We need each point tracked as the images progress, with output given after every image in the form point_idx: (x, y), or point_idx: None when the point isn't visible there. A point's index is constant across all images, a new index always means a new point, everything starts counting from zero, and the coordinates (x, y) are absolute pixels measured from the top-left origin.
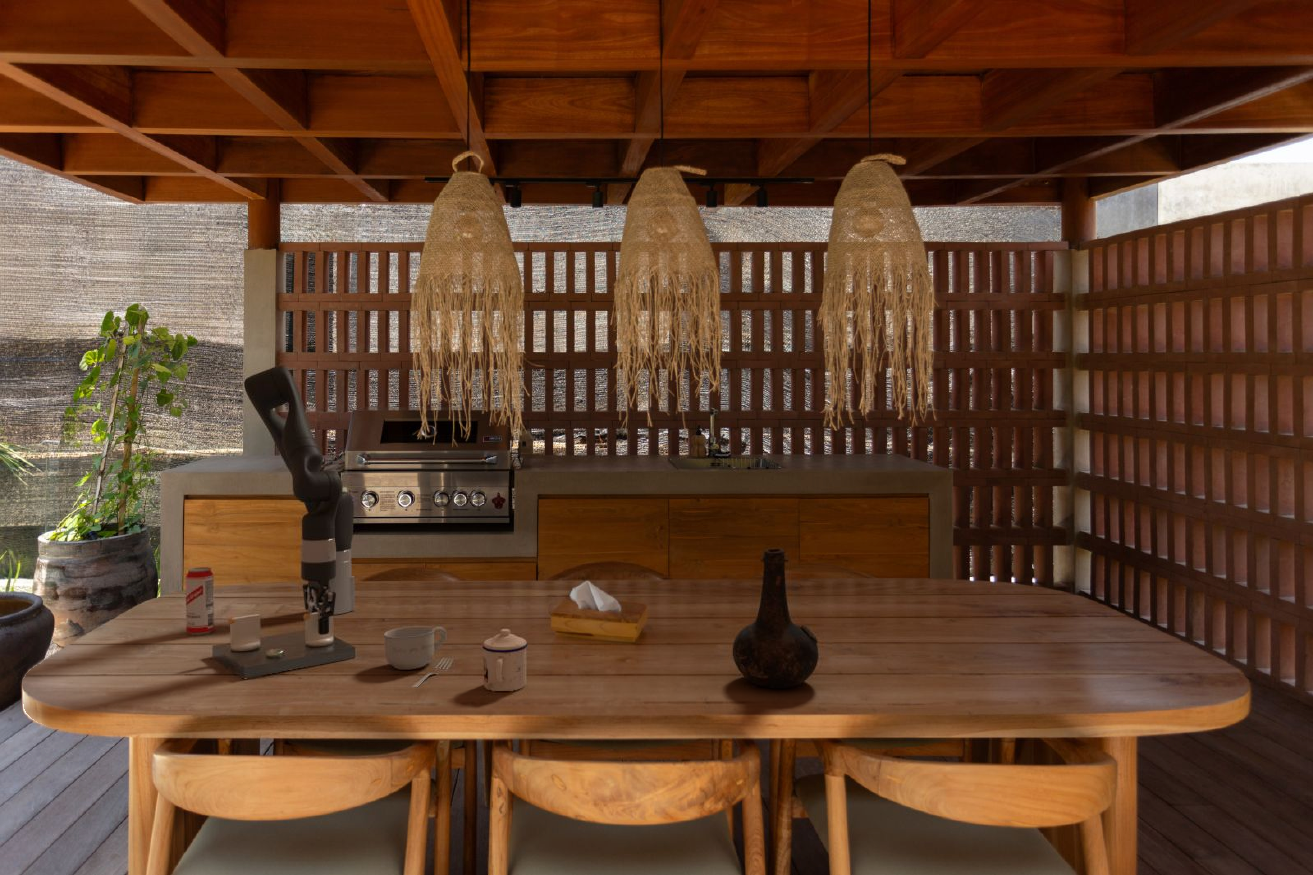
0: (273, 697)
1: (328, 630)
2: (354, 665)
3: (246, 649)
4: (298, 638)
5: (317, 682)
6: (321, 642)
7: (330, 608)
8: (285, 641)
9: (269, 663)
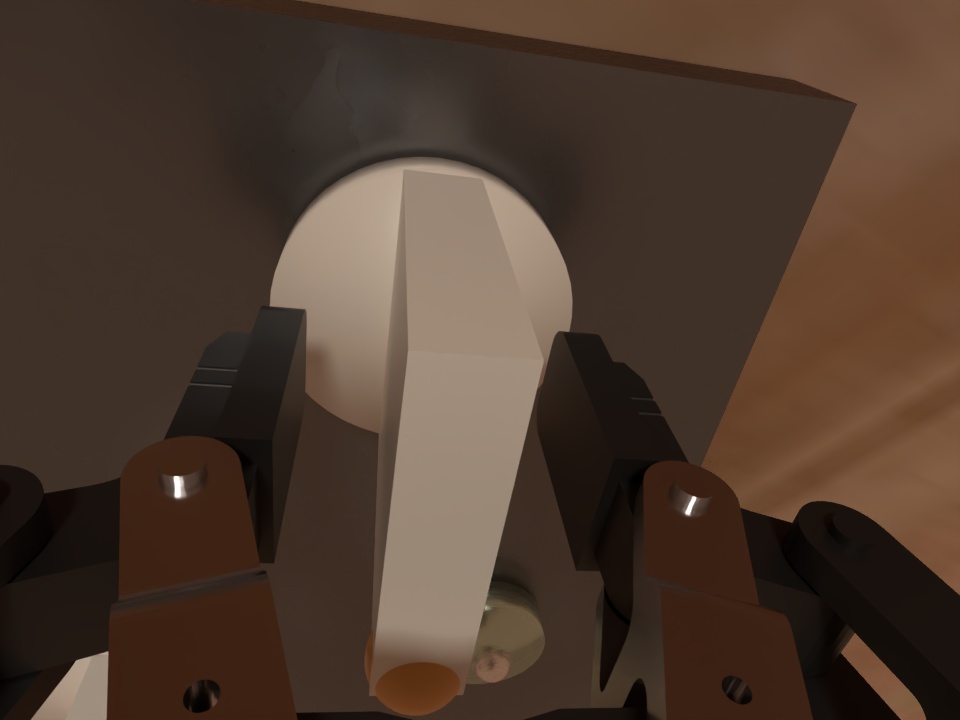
0: (890, 676)
1: (601, 351)
2: (937, 208)
3: None
4: (61, 347)
5: (937, 511)
6: None
7: (885, 645)
8: (112, 463)
9: None
